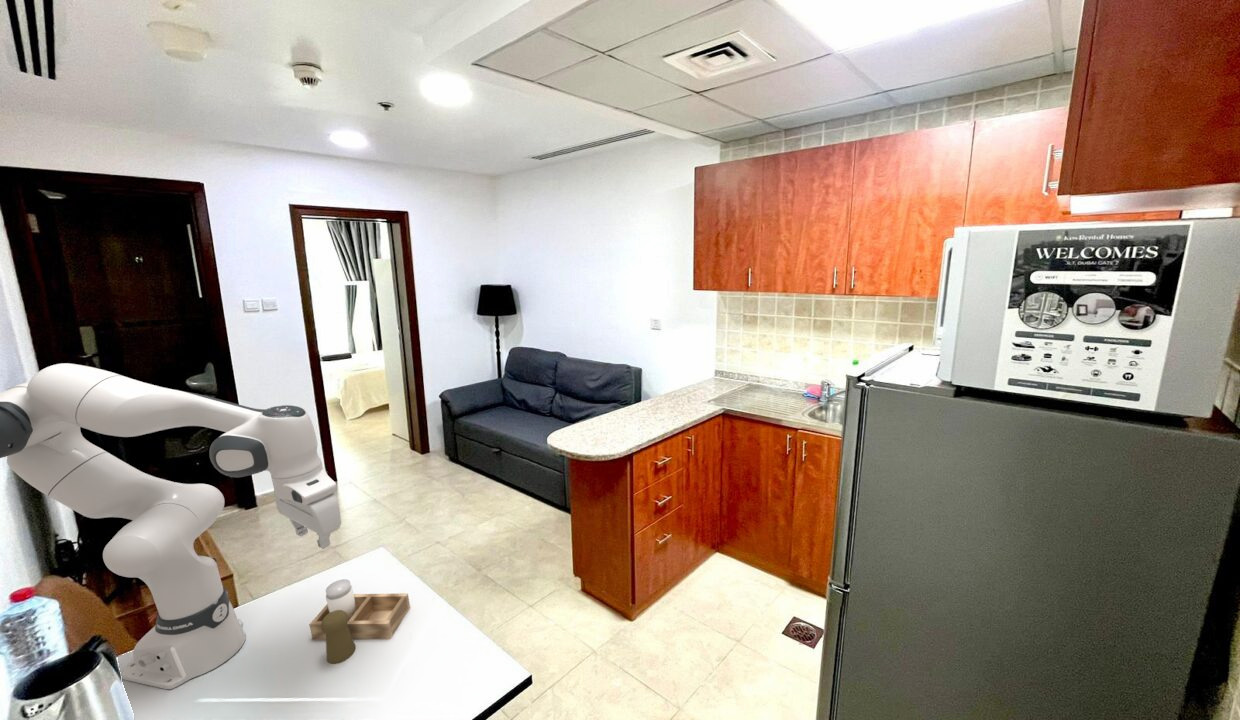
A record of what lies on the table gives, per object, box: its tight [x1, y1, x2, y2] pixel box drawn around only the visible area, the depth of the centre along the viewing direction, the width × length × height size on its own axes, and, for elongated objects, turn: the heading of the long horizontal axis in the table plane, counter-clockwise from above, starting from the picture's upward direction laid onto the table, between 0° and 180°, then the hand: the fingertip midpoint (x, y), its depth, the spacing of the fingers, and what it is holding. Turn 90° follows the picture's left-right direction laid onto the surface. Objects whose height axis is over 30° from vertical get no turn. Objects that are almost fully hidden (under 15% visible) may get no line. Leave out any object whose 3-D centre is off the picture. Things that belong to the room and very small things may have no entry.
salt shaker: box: [325, 578, 357, 621], centre depth 116 cm, size 6×6×10 cm
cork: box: [321, 610, 357, 665], centre depth 107 cm, size 6×6×11 cm
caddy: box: [308, 592, 411, 641], centre depth 117 cm, size 19×10×5 cm, turn 88°
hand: (313, 540), depth 101 cm, fingers open, 8 cm apart
